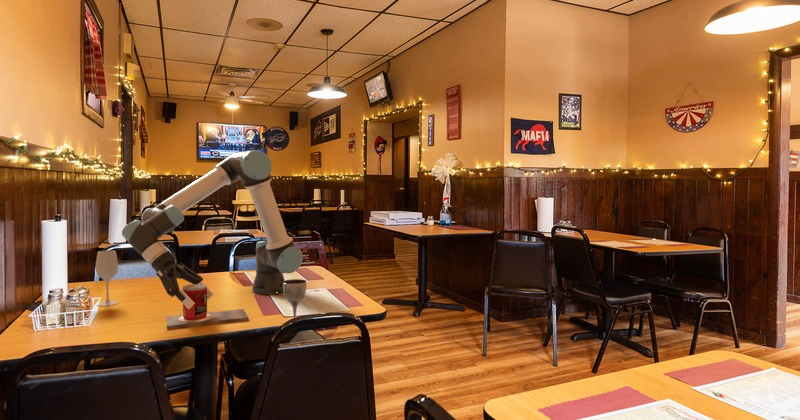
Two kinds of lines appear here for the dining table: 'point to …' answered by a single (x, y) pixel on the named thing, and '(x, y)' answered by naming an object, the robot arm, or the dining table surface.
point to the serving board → (207, 319)
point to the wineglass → (107, 271)
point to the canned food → (196, 302)
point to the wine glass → (294, 292)
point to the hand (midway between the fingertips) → (201, 301)
